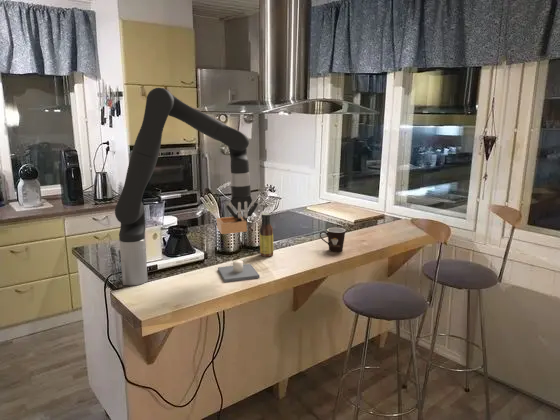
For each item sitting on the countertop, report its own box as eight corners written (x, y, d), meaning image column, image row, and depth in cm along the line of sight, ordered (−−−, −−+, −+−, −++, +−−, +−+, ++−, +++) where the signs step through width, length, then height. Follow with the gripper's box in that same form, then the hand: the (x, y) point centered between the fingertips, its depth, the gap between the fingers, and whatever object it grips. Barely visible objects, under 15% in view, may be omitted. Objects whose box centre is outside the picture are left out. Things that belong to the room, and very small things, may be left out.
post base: (224, 282, 169) (224, 269, 168) (218, 270, 182) (217, 258, 181) (259, 277, 174) (259, 265, 173) (250, 266, 187) (250, 254, 186)
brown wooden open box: (221, 234, 165) (221, 224, 165) (217, 227, 175) (216, 218, 174) (246, 231, 168) (246, 221, 168) (241, 225, 178) (240, 215, 177)
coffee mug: (348, 250, 209) (349, 230, 207) (337, 254, 203) (338, 233, 201) (328, 245, 217) (329, 225, 215) (318, 248, 211) (318, 229, 208)
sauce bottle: (266, 252, 206) (265, 211, 201) (276, 254, 202) (276, 213, 197) (256, 255, 201) (256, 213, 196) (267, 258, 197) (266, 215, 192)
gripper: (225, 186, 163) (227, 231, 167) (259, 184, 167) (261, 227, 171) (221, 183, 170) (223, 226, 174) (255, 181, 174) (256, 223, 178)
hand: (242, 226), depth 173 cm, fingers closed on brown wooden open box, 1 cm apart
